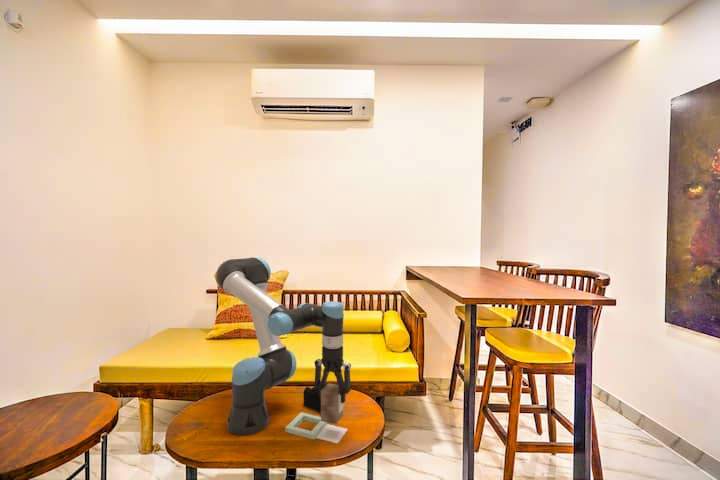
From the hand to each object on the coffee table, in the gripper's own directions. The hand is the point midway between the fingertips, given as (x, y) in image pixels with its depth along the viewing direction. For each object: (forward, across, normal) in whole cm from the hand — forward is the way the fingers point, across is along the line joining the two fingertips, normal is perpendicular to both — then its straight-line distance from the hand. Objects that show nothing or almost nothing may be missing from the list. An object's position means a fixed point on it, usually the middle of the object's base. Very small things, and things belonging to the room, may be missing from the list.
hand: (332, 408), depth 121 cm
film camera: (+10, -13, +16) cm, 23 cm away
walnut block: (+3, 0, 0) cm, 3 cm away
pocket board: (+9, -10, 0) cm, 14 cm away
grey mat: (+9, 0, 0) cm, 9 cm away
